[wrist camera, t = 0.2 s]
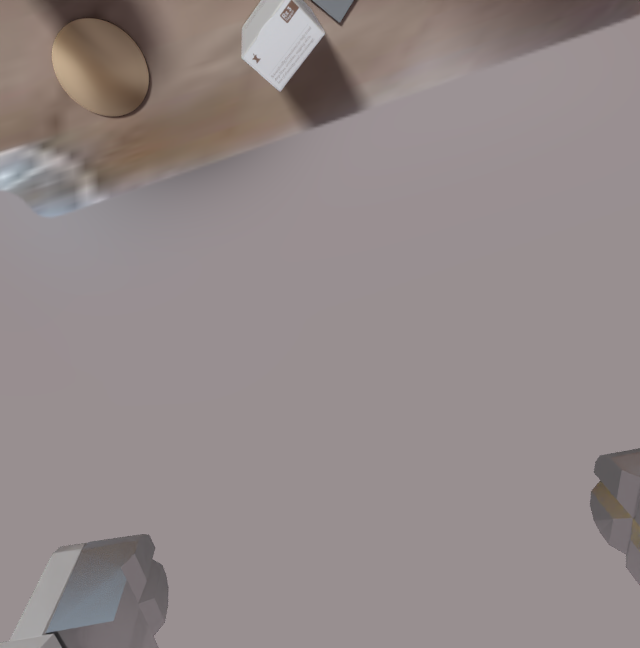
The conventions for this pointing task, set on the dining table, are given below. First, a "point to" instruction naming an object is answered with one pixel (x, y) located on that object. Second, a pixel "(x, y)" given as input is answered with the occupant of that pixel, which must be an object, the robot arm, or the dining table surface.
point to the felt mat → (335, 7)
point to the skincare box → (279, 39)
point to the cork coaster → (100, 67)
